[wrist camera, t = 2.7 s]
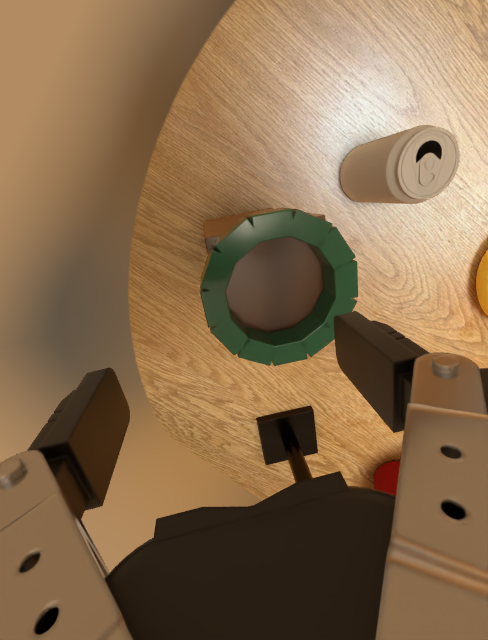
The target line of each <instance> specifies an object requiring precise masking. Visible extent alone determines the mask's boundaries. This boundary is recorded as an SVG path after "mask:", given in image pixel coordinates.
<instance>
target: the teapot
mask: <svg viewBox="0 0 488 640" xmlns="http://www.w3.org/2000/svg"><path fill="white" fill-rule="evenodd" d="M476 291H477V296H478V300H479V303H480V306H481V308H482V310H483V311H484V312H485V314H486V315H487V316H488V249H487V250H486V252H485V254H484V255H483V257H482V259H481V262H480V264H479V267H478V271H477V275H476Z"/></svg>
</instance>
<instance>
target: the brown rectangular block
mask: <svg viewBox="0 0 488 640" xmlns="http://www.w3.org/2000/svg"><path fill="white" fill-rule="evenodd" d="M272 209H274V208H267V209H262V210H257V211H252V212H246V213H241V214H236V215H231V216H226V217H220V218H215V219H210V220H205V221H203V225H204V237H205V243H206V248H207V252H208V254H209V251H210V248H211V246H212V245H213V246H215V242H214V241H215V240H216V239H217V238H218V237H219V236H220V235H222V234H223V233H224V232H225V231H226V230H227V229H228V228H229V227H231V226H232V225H233V224H234V223H235V222H236V221H237V220H238V219H240V218H241V217H244V218H247V217H246V215H247V214H251V213H256V212H261V211H267V210H272ZM308 214H310V215H313V216H315V217H317V218H320V219H322V220H325V215H321V214H313V213H308ZM322 290H323V277H322V263H321V262H320V260H319V259H318V258H317V256H316V255H315V253H314V252H313V251H312V249H311V248H310V247H309V245H308V244H307V243H306V242H303V241H301V240H298V239H296V238H293V237H285V238H279V239H274V240H269V241H264V242H260V243H258V244H257V245H256V246H255V247H254V248H253V249H251V250H250V251H249V252H248V253H247V254H246V255H245V256H243V257H242V258H241V259H240V260H239V261H238V262H236V264H235V267H234V269H233V272H232V275H231V278H230V281H229V283H228V286H227V289H226V296H227V301H228V306H229V309H230V310H231V311H232V312H233V313H234V314H235V316H236V317H237V318H238V319H239V320H240V321H241V322H242V323H243V324H244V325H245V326H247V327H250V328H254V329H257V330H260V331H264V332H267V333H270V332H274V331H279V330H284V329H289V328H293V327H294V326H295V325H297V324H298V323H299V322H300V321H302V320H303V319H304V318H305V317H307V316H308V315H309V314H310V313H312V312H313V310H314V307H315V305H316V303H317V301H318V299H319V297H320V294H321V292H322Z"/></svg>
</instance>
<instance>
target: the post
mask: <svg viewBox="0 0 488 640" xmlns="http://www.w3.org/2000/svg"><path fill="white" fill-rule="evenodd" d="M256 419H257V424H258V429H259V434H260V439H261V444H262V450H263V455H264V460H265V464H266V465H269V464H273V463H277V462H281V461H286V460H288V461H289V464H290V467H291V470H292V473H293V476H294V479H295V482H296V483H297V482H301V481H305V480H308V479H312V475H311V473H310V470H309V468H308V465H307V463H306V460H305V458H304V456H307V455H311V454H315V453H318V449H317V440H316V430H315V421H314V412H313V409H312V407H311V406H307V407H303V408H298V409H294V410H290V411H285V412H281V413H276V414H272V415H268V416H263V417H259V418H256Z"/></svg>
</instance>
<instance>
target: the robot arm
mask: <svg viewBox="0 0 488 640" xmlns="http://www.w3.org/2000/svg"><path fill="white" fill-rule="evenodd" d="M334 334H335V346H336V356H337V360H338V364H339V366H340V368H341V370H342V371H343V372H344V374H345V375H346V376H347V377H348V378H349V380H350V381H351V382H352V383H353V384H354V386H355V387H356V388H357V389H358V391H359V392H360V393H361V394H362V395H363V397H364V398H365V399H366V400H367V401H368V403H369V404H370V405H371V406H372V407H373V409H374V410H375V411H376V412H377V413H378V415H379V416H380V417H381V418H382V419H383V421H384V422H385V423H386V424H387V425H388V427H389V428H390V429H391V430H392V431H393V433H395V432H399V431H403V430H404V435H403V443H402V451H401V459H400V467H399V475H398V484H397V492H396V496H394V495H392V494H389V493H386V492H383V491H380V490H376V489H371V488H366V487H357V486H347V484H346V482H345V480H344V478H343V476H342V474H341V472H340V471H339V472H335V473H332V474H328V475H324V476H320V477H316V478H312V479H308V480H305V481H301V482H297V483H295V484H293V485H291V486H289V487H287V488H285V489H283V490H282V491H280V492H278V493H276V494H274V495H272V496H270V497H269V498H267V499H265V500H263V501H261V502H259V503H257V504H255V505H253V506H248V507H201V508H197V509H193V510H189V511H185V512H181V513H177V514H174V515H170V516H166V517H162V518H158V519H156V526H155V532H154V538H152V539H150V540H148V541H147V542H146V543H144V544H143V545H141V546H139V547H138V548H136V549H135V550H134V551H133V552H132V553H130V554H129V555H128V556H127V557H125V558H124V559H123V560H122V561H121V562H120V563H119V564H118V565H117V566H116V567H115V568H114V569H113V570H112V571H111V572H109V570H108V569H107V566H106V565H105V563H104V561H103V559H102V557H101V555H100V553H99V551H98V550H97V548H96V546H95V544H94V542H93V540H92V538H91V537H90V534H89V533H88V531H87V529H86V527H85V525H84V524H83V522H82V520H81V518H82V516H83V513H84V511H85V510H88V509H93V508H96V507H100V506H102V505H103V502H104V499H105V496H106V493H107V490H108V487H109V484H110V480H111V477H112V474H113V471H114V468H115V465H116V462H117V459H118V455H119V452H120V449H121V446H122V443H123V440H124V436H125V433H126V430H127V427H128V424H129V420H130V411H129V406H128V403H127V401H126V398H125V396H124V393H123V391H122V389H121V386H120V384H119V381H118V379H117V376H116V375H115V372H114V371H113V369H111V368H106V369H102V370H98V371H93V372H89V373H87V374H86V375H85V377H84V378H83V380H82V382H81V383H80V385H79V386H78V388H77V389H76V390H74V391H73V392H71V393H70V394H69V395H68V396H67V397H66V398H65V399H63V400H62V401H61V402H60V404H59V405H58V407H57V408H56V410H55V411H54V414H52V415H51V417H50V418H49V420H48V423H46V424H45V426H44V427H43V428H42V430H41V431H40V433H39V435H38V436H37V437H36V439H35V440H34V442H33V443H32V444H31V446H30V448H29V449H28V450H27V451H25V452H21V453H19V454H16V455H14V456H12V457H10V458H8V459H6V460H5V461H3V462H1V463H0V640H488V368H484V369H479V367H478V366H477V365H476V364H475V363H474V362H473V361H471V360H470V359H468V358H465V357H463V356H460V355H456V354H451V353H429V352H428V351H426V350H425V349H423V348H422V347H420V346H419V345H417V344H416V343H414V342H413V341H411V340H410V339H408V338H405V336H404V335H402V334H401V333H399V332H398V333H397V331H396V330H395V329H393V328H392V327H390V326H389V325H387V324H384V323H380V322H377V321H370V320H368V319H367V318H365V317H364V316H363V315H361V314H360V313H358V312H357V311H354V312H350V313H345V314H341V315H337V316H335V317H334Z"/></svg>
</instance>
